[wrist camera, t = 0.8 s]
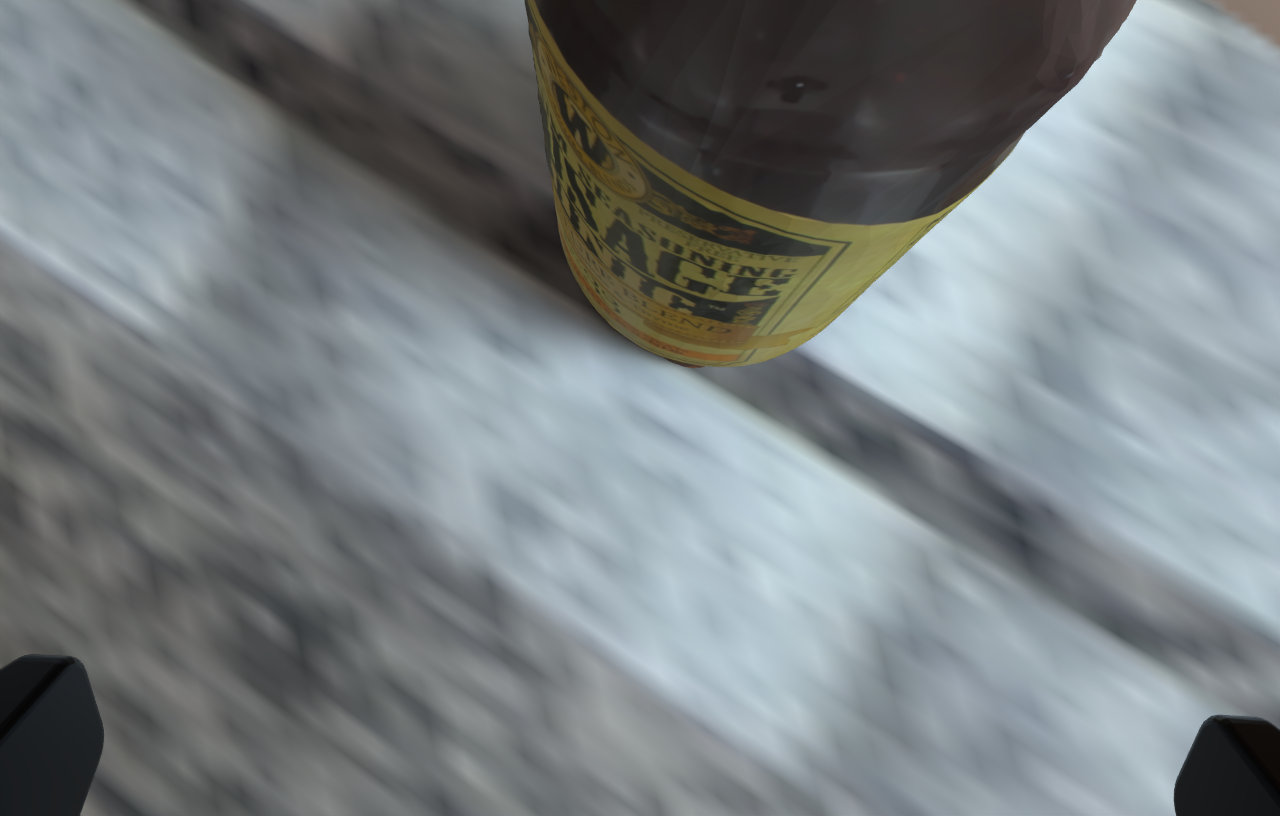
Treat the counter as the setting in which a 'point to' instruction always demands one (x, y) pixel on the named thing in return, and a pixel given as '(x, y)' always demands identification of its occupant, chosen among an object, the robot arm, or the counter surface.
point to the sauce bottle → (779, 147)
